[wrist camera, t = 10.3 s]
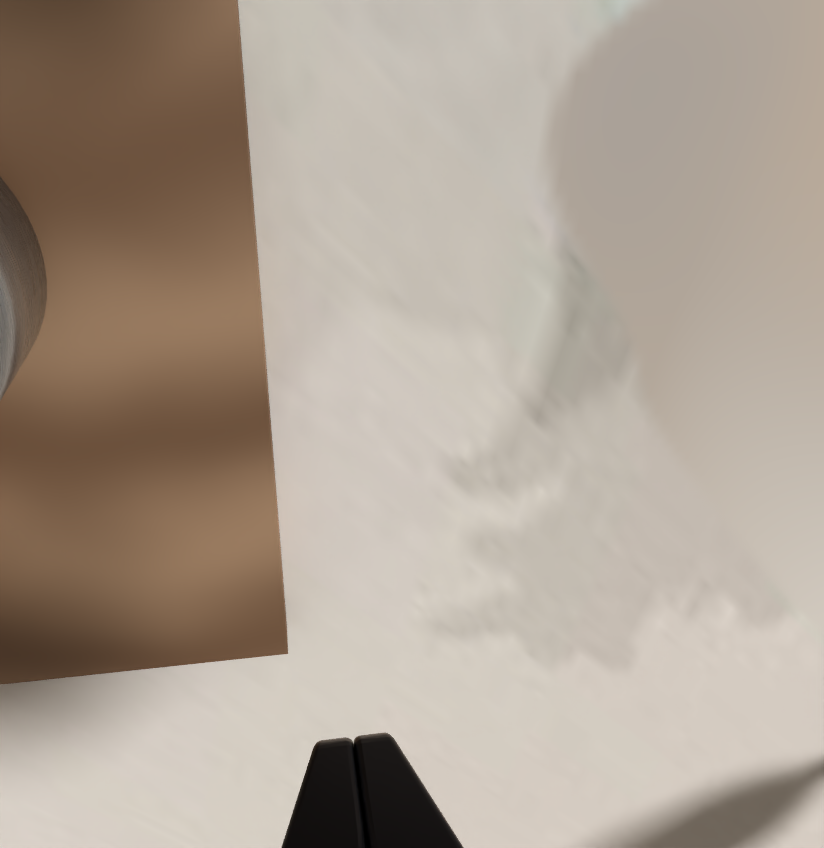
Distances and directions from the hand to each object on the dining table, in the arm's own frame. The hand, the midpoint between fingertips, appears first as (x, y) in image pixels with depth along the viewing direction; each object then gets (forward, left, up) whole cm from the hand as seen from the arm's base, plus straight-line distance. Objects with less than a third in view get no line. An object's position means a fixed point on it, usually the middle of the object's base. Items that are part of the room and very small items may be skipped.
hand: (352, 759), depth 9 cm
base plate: (+2, -8, -13) cm, 15 cm away
